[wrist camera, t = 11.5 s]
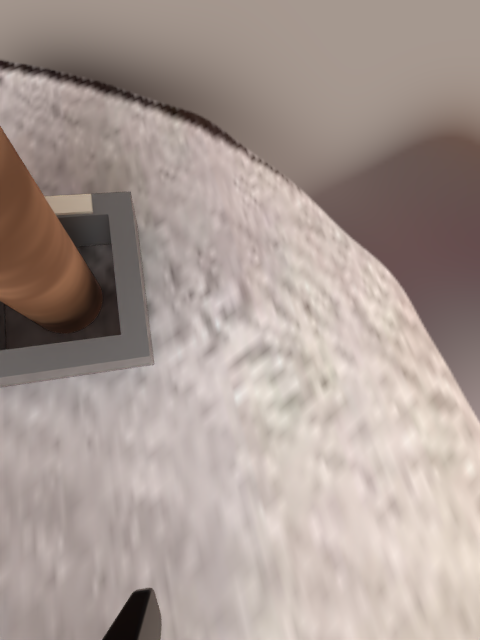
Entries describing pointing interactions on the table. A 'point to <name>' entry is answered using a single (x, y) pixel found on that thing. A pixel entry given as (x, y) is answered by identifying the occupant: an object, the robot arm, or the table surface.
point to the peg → (40, 255)
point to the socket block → (135, 340)
